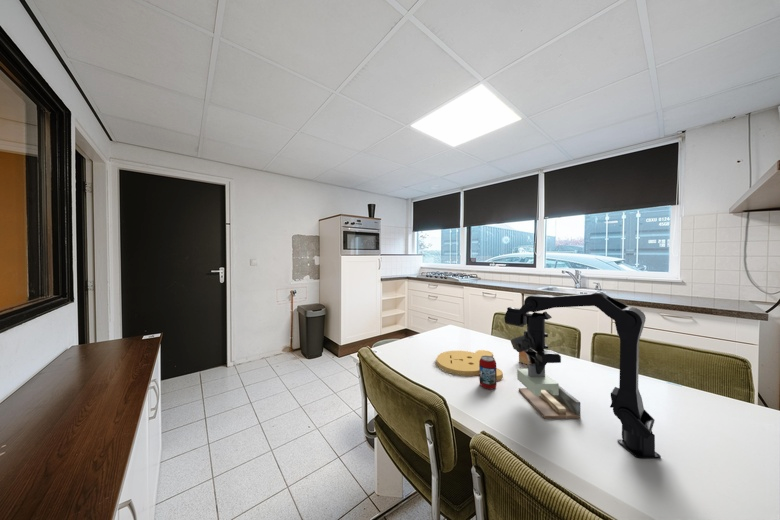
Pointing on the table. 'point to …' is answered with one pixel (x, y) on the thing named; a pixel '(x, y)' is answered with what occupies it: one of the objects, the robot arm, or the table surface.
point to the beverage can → (488, 372)
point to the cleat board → (545, 406)
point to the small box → (524, 358)
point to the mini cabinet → (537, 381)
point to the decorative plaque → (463, 362)
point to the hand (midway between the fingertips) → (536, 372)
